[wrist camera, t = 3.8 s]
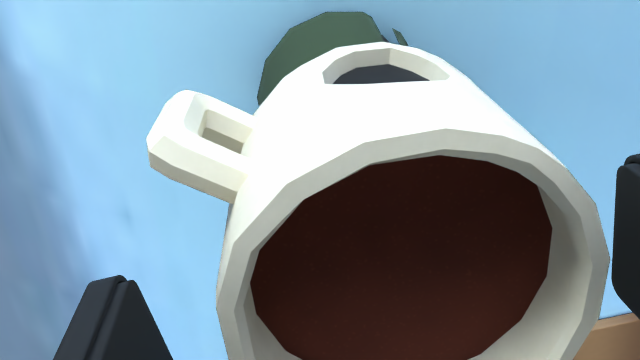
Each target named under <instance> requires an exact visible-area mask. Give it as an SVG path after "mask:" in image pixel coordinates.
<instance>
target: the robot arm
mask: <svg viewBox="0 0 640 360" xmlns="http://www.w3.org/2000/svg"><path fill="white" fill-rule="evenodd" d="M612 284H613V287H614V289H615V291H616V293H617V295H618V296H619V297H620V299H621V300H622V301H623V302H624V303H625V304H626V305H627V306H628V308H629V309H630V310H631V311H632V312H633V313H634V314H635V315H636V316H637V317H638V319H639V320H640V154H636V155H632V156H629V157H628V158H627V159H626V161H625V163H624V165H623V166H620V167H619V168H618V170H617V178H616V198H615V218H614V238H613V258H612ZM53 360H173V358H172V356H171V354H170V352H169V350H168V348H167V346H166V344H165V342H164V340H163V337H162V335H161V333H160V331H159V329H158V327H157V325H156V323H155V321H154V318H153V316H152V314H151V312H150V310H149V308H148V306H147V304H146V302H145V300H144V297H143V295H142V293H141V291H140V289H139V287H138V285H137V283H136V282H135V281H134V280H129V281H127V280H126V278H124V277H123V276H121V275H118V276H113V277H109V278H105V279H100V280H96V281H92V282H90V283H89V284H88V286H87V288H86V290H85V292H84V294H83V296H82V298H81V301H80V303H79V305H78V307H77V309H76V311H75V313H74V316H73V318H72V320H71V322H70V324H69V326H68V329H67V331H66V333H65V335H64V337H63V339H62V341H61V344H60V346H59V348H58V350H57V352H56V354H55V357H54V359H53Z"/></svg>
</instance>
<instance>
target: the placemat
mask: <svg viewBox="0 0 640 360" xmlns="http://www.w3.org/2000/svg"><path fill="white" fill-rule="evenodd" d="M573 360H640V320H639V319H638V317H637V316H636V315H635V314H634V313H629V314H624V315H620V316H615V317H610V318H606V319H601V320H597V322H596V324H595V325H594V327H593V328H592V330H591V331H590V333H589V335H588V336H587V338H586V339H585V341H584V342H583V344H582V346H581V347H580V349H579V350H578V352H577V353H576V355H575V357H574V358H573Z"/></svg>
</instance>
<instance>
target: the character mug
mask: <svg viewBox="0 0 640 360" xmlns="http://www.w3.org/2000/svg"><path fill="white" fill-rule="evenodd" d="M392 29H393V28H392ZM393 31H394V33H395V35H396V37H397V39H398V42H399V44H400V45H397V44H392V43H389V42H388V41H387V40H386V39H385V38H384V37H383V35H381V34H380V32H379V30H378V28H377V26H376V24H375V23H374V21H373V19H372V17H371V16H369V15H367V14H366V13H364V12H325V13H323V14H321V15H318V16H316V17H314V18H312V19H310V20H308V21H306V22H304V23H301V24H299V25H297V26H295V27H293V28H291V29H289V31H288V32H287V33H286V35H285V36H284V37H283V38H282V40H281V41H280V42H279V44H278V45H277V46H276V48H275V49H274V50H273V51H272V53H271V54H270V55H269V57H268V58H267V59H266V61H265V64H264V69H263V73H262V78H261V82H260V87H259V91H258V96H257V99H258V104H259V108H258V109H257V110H256V111H255V113H254V114H253V115H250V114H248V113H246V112H244V111H242V110H239V109H237V108H235V107H233V106H231V105H229V104H226V103H224V102H222V101H220V100H218V99H215V98H213V97H211V96H208V95H205V94H202V93H198V92H194V91H190V90H184V91H181V92H178V93H177V94H176V95H174V96H173V97H172V98H171V99H170V100H168V101H167V102H166V104H165V105H164V107H163V109H162V111H161V113H160V114H159V116H158V118H157V120H156V122H155V123H154V125H153V127H152V129H151V131H150V132H149V134H148V136H147V138H146V139H147V149H148V157H149V162H150V167H151V168H153V169H155V170H156V171H158V172H160V173H161V174H163V175H164V176H166V177H168V178H169V179H172V180H174V181H177V182H179V183H182V184H184V185H187V186H189V187H191V188H194V189H196V190H199V191H201V192H204V193H206V194H209V195H211V196H214V197H216V198H218V199H221V200H223V201H226V202H228V203H229V209H228V216H227V222H226V228H225V235H224V241H223V247H222V254H221V260H220V267H219V273H218V280H217V286H216V310H217V314H218V318H219V322H220V326H221V330H222V334H223V338H224V343H225V347H226V351H227V355H228V359H229V360H573V358H574V357H575V355H576V353H577V352H578V350H579V349H580V347H581V346H582V344H583V342H584V341H585V339H586V338H587V336H588V335H589V333H590V331H591V330H592V328H593V327H594V325H595V324H596V322H597V320H598V319H599V315H600V310H601V305H602V300H603V294H604V289H605V284H606V279H607V273H608V268H609V263H610V256H609V252H608V248H607V245H606V241H605V237H604V233H603V229H602V226H601V222H600V218H599V214H598V210H597V207H596V203H595V202H594V201H593V200H592V199H591V197H590V196H589V195H588V194H587V192H586V191H585V190H584V189H583V187H582V186H581V185H580V184H579V183H578V181H577V180H576V179H575V178H574V176H573V175H572V174H571V173H570V172H569V170H568V169H567V168H566V167H565V166H564V165H563V164H562V163H561V162H560V161H559V160H558V159H557V158H556V157H555V156H554V155H553V154H552V153H551V152H550V151H549V150H548V149H547V148H546V147H544V146H543V145H542V144H541V143H540V142H539V141H538V140H537V139H536V138H535V137H533V136H532V135H531V134H530V133H529V132H528V131H527V130H526V129H524V128H523V127H522V126H521V125H520V124H519V123H518V122H516V121H515V120H514V119H513V118H512V117H511V116H509V115H508V114H507V113H506V112H505V111H504V110H503V109H502V108H501V107H499V106H498V105H497V104H496V103H495V102H494V101H493V100H492V99H491V98H489V97H488V96H487V95H486V94H485V93H484V92H483V91H482V90H481V89H479V88H478V87H477V86H476V85H475V84H474V83H473V82H472V81H471V80H470V79H469V78H468V77H466V76H465V75H464V74H463V73H462V72H460V71H459V70H457V69H456V68H454V67H453V66H452V65H450V64H449V63H447V62H446V61H444V60H443V59H442V58H440V57H437V56H435V55H433V54H430V53H428V52H425V51H423V50H421V49H418V48H413V47H409V46H408V44H407V43H406V41H405V39H404V38H403V36H402V34H401V33H400V32H398V31H397V30H395V29H393Z"/></svg>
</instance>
